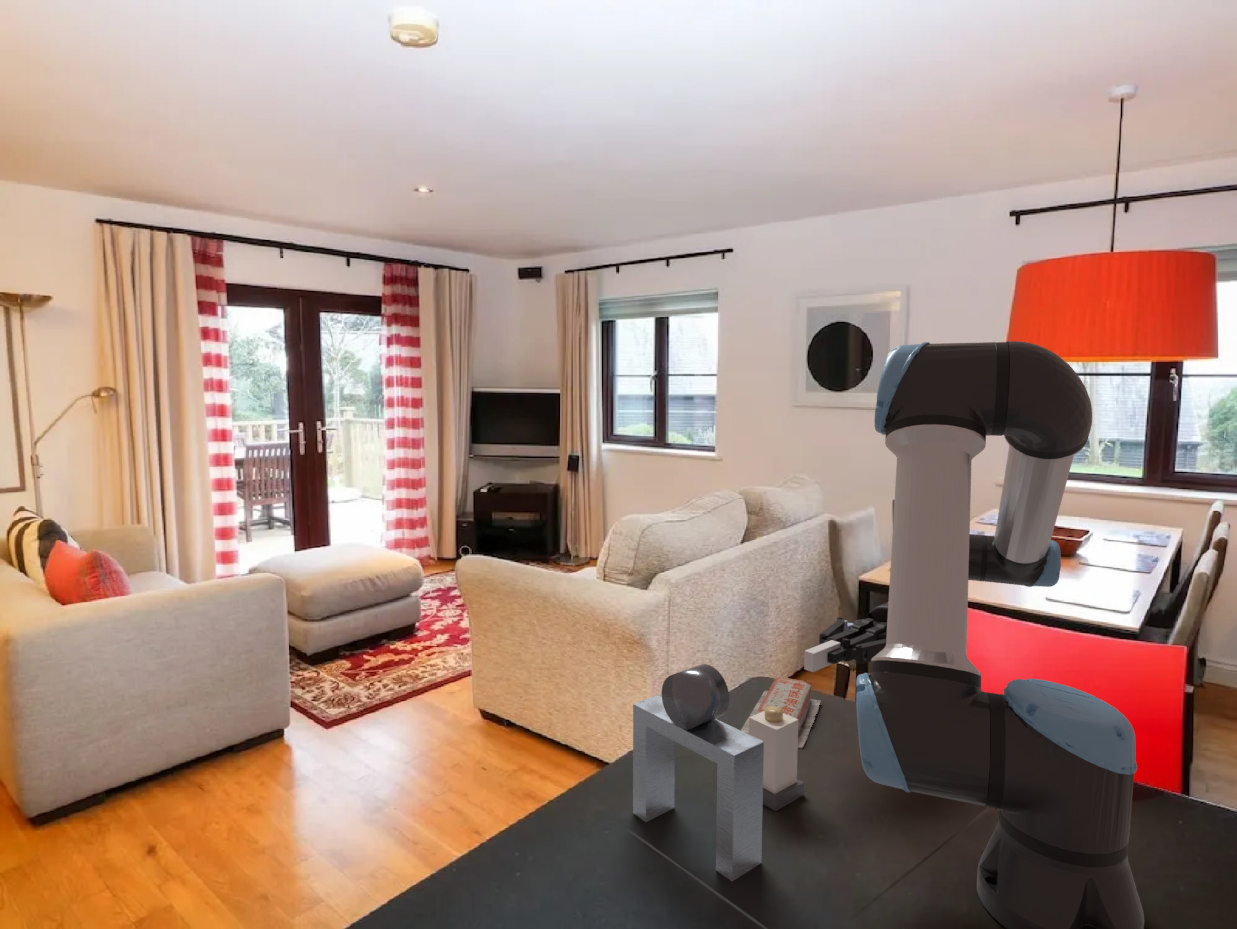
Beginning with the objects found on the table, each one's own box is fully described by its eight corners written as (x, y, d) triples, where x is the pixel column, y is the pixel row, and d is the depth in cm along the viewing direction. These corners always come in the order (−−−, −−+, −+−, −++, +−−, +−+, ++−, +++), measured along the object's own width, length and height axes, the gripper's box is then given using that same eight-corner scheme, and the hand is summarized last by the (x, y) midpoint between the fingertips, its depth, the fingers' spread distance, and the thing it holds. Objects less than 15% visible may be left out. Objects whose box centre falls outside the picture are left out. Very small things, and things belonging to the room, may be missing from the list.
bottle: (803, 795, 99) (806, 711, 98) (775, 811, 95) (777, 724, 94) (768, 776, 104) (770, 696, 102) (740, 791, 100) (741, 708, 98)
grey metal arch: (761, 865, 85) (765, 687, 83) (732, 883, 82) (735, 699, 79) (661, 801, 98) (662, 646, 96) (633, 815, 95) (633, 655, 93)
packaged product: (765, 671, 131) (822, 680, 127) (764, 697, 132) (821, 707, 128) (739, 711, 115) (804, 723, 111) (738, 741, 116) (803, 754, 112)
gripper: (936, 658, 113) (848, 702, 98) (861, 636, 123) (771, 672, 108) (938, 611, 112) (850, 648, 97) (862, 592, 122) (772, 623, 107)
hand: (808, 661), depth 103 cm, fingers closed
